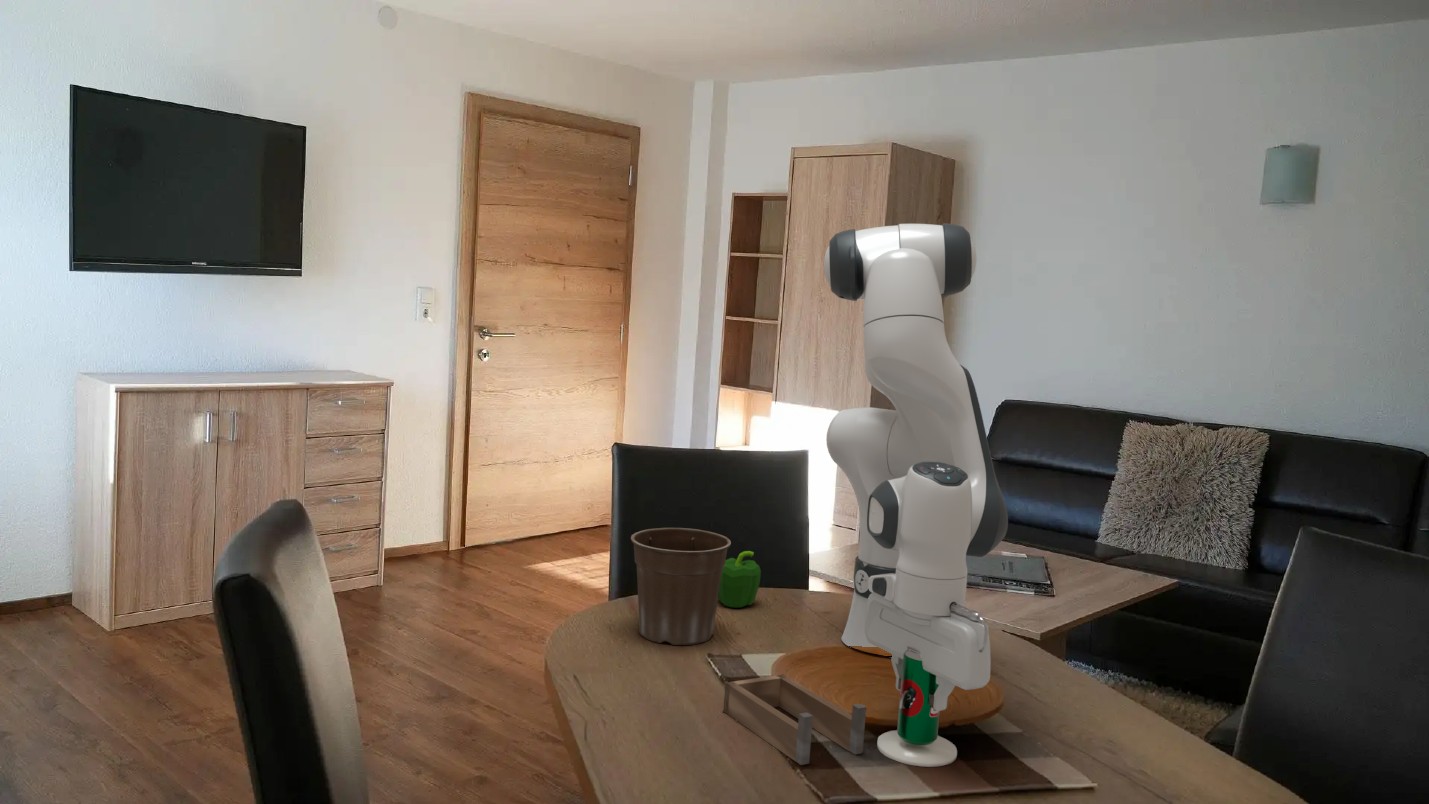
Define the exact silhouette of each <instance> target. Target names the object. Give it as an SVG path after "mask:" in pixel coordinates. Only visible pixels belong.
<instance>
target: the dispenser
mask: <svg viewBox="0 0 1429 804" xmlns="http://www.w3.org/2000/svg"><path fill="white" fill-rule="evenodd" d="M723 697H724V698H723V710H722V711H723V712H724V713H726V714H727V715H728V716H730V717H731V718H732V719H734V720H735V721H737V722H738V723H739V724H741V725H742V726H744V727H746V728H747V729H748V730H750V731H751V732H753V733H755V735H757V736H758V737H759V738H761V739H762V740H764V741H766V742H767V743H768V744H770V745H772V746H773V747H774V748H775V749H777V750H779V751H780V752H781V753H783V754H784V755H786V756H787V757H789V758H790V759H791V760H793V761H794V762H796V763H798V765H799V766H804V765H808V764H809V765H810V756H811V741H812V733H813V732H812V731H813V729H814V730H816V731H817V732H818V733H820V734H821V735H823V736H824V737H826V738H828V739H829V740H831V741H832V742H834V743H836V744H837V745H839V746H840V747H842V748H844V749H845V750H847V751H848V752H850V753H852V754H853V755H860V754H863V752H864V751H863V750H864V739H865V727H866V725H865V724H866V717H867V715H866V714H867V706H865V705H863V704H861V703H855V704H852V709H851V711H852V712H851V713H849V711H846V710H844V709H843V708H841V707H840V706H838V705H836V704H834V703H833V702H832V701H831V702H830V701H829V700H827V699H825V698H824V697H823V696H821V695H819V694H818V693H816V692H814V691H813V690H810V689H809V688H807V687H806V686H803V685H802V684H801V683H799V682H797V681H795V680H794V679H791V678H790V677H788V676H786V675H785V674H777V675H770V676H768V675H767V676H762V677H754V678H748V679H741V680H735V681H729V682H728V681H727V682H724V696H723ZM777 707H779V708H780V709H782V710H784V711H785V712H787V713H788V714H789V715H792V716H793V717H794V718H797V719H798V721H795V720H793V719H792V718H790V717H789V716H788V715H787V714H785V713H783V712H781V711H780V710H778V709H776V708H777Z"/></svg>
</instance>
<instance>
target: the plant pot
mask: <svg viewBox="0 0 1429 804" xmlns="http://www.w3.org/2000/svg"><path fill="white" fill-rule="evenodd" d="M630 541H631V543H632V544H633V553H634V563H635V564H636V578H637V599H638V601H637V602H638V603H637V604H638V607H637V608H638V631H639V634H640V635H641V636H642V637H643V638H645V639H647V640H649V641H652V642H654V643H658V644H662V643H663V642H667V643H670V644H671V645H672V646H693V645H698V644H701V643H704V642H708V641H710V638H711V637H712V636H713V635H714V627H715V619H716V614H717V607H718V601H719V599H718V593H719V587H720V580H721V574H722V569H723V568H724V566H725V560H727V555H728V554H727V553H728V549H729V548H730V547H731V543H732V542H731V540H730V539H729V538H728V537H727V536H724V535H722V534H719V533H716V532H712V531H708V530H704V529H703V530H702V529H696V528H688V527H687V528H684V527H660V528H648V529H644V530H640V531H638V532H634V533H633V534H631V536H630Z"/></svg>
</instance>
